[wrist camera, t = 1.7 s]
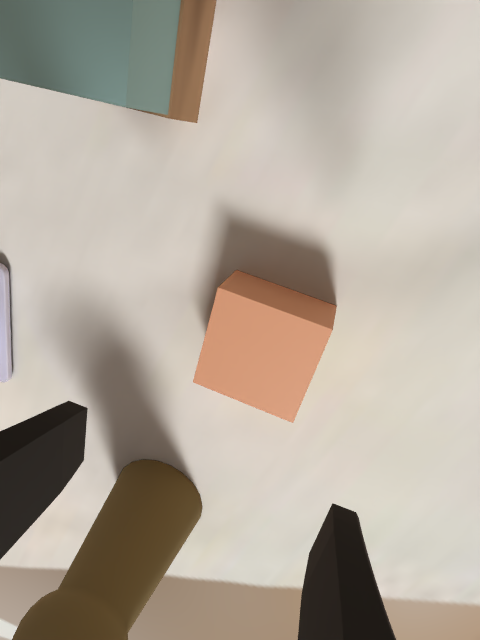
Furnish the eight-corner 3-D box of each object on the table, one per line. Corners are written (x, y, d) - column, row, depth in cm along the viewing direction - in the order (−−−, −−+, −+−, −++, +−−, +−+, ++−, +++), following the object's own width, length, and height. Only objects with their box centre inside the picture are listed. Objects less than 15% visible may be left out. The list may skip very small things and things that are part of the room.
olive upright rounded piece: (127, 444, 26) (-16, 624, 16) (213, 486, 25) (119, 700, 15) (111, 505, 28) (-20, 691, 19) (188, 544, 28) (95, 758, 18)
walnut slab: (96, 97, 18) (50, 88, 16) (104, -43, 16) (53, -81, 13) (198, 123, 18) (169, 118, 15) (221, -21, 15) (192, -56, 13)
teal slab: (49, 87, 16) (-16, 74, 13) (48, -83, 13) (-28, -140, 11) (168, 114, 15) (125, 107, 12) (187, -61, 13) (141, -117, 10)
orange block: (213, 353, 22) (192, 382, 19) (237, 268, 20) (217, 287, 17) (301, 388, 21) (292, 423, 18) (337, 304, 19) (332, 329, 16)
